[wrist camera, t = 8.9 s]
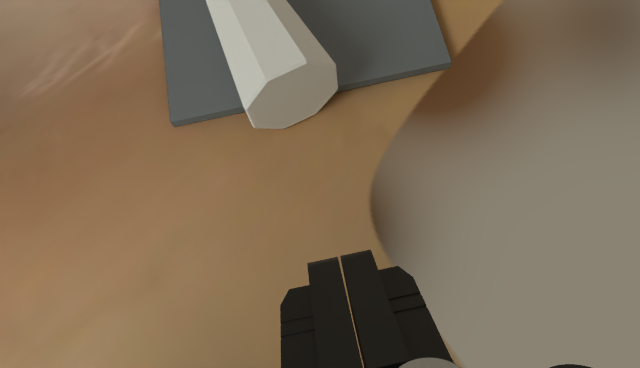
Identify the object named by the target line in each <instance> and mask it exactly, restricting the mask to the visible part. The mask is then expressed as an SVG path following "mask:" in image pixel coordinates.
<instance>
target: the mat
mask: <svg viewBox="0 0 640 368" xmlns="http://www.w3.org/2000/svg"><path fill="white" fill-rule="evenodd" d="M287 2H288V3H289V4H290V6H291V7H292V8H293V10H294V11H295V12H296V13H297V15H298V16H299V17H300V19H301V20H302V21H303V22H304V24H305V25H306V26H307V28H308V29H309V30H310V32H311V33H312V34H313V35H314V37H315V38H316V39H317V41H318V42H319V43H320V45H321V46H322V47H323V48H324V50H325V51H326V52H327V54H328V55H329V56H330V57H331V59H332V60H333V61H334V63H335V64H336V71H337V82H338V90H337V91H336V92H340V91H344V90H349V89H354V88H358V87H363V86H368V85H372V84H377V83H382V82H386V81H391V80H396V79H400V78H405V77H410V76H414V75H419V74H424V73H428V72H433V71H438V70H442V69H447V68H450V65H451V62H452V61H451V59H450V56H449V53H448V50H447V47H446V44H445V41H444V38H443V35H442V32H441V29H440V26H439V24H438V21H437V18H436V15H435V12H434V9H433V6H432V3H431V0H287ZM159 5H160V16H161V26H162V37H163V48H164V59H165V69H166V80H167V91H168V102H169V113H170V122H171V123H172V125H173V126H174V127H177V126H181V125H186V124H191V123H195V122H200V121H205V120H209V119H214V118H219V117H223V116H228V115H233V114H237V113H242V112H246V111H245V109H244V107H243V104H242V102H241V99H240V96H239V93H238V90H237V88H236V85H235V82H234V79H233V76H232V73H231V71H230V68H229V65H228V62H227V59H226V56H225V54H224V51H223V48H222V45H221V42H220V40H219V37H218V34H217V31H216V28H215V25H214V23H213V20H212V17H211V14H210V11H209V9H208V6H207V3H206V0H159Z"/></svg>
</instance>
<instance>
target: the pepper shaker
mask: <svg viewBox="0 0 640 368" xmlns="http://www.w3.org/2000/svg"><path fill="white" fill-rule="evenodd" d="M206 3H207V6H208V9H209V11H210V14H211V17H212V20H213V23H214V25H215V28H216V31H217V34H218V37H219V40H220V42H221V45H222V48H223V51H224V54H225V56H226V59H227V62H228V65H229V68H230V71H231V73H232V76H233V79H234V82H235V85H236V88H237V90H238V93H239V96H240V99H241V102H242V104H243V107H244V109H245V111H246V114H247V116H248V118H249V120H250V122H251V124H252V126H253V127H254V128H267V129H285V128H287V127H289V126H291V125H294V124H296V123H298V122H300V121H302V120H304V119H306V118H308V117H311V116H313V115H315V114H317V112H318V111H319V110H320V109H321V108H322V107H323V106H324V105H325V103H326V102H327V101H328V100H329V99H330V98H331V97H332V96H333V94H334V93H335V92H336V91H337V90H338V82H337V71H336V64H335V63H334V61H333V60H332V59H331V57H330V56H329V55H328V54H327V52H326V51H325V50H324V48H323V47H322V46H321V45H320V43H319V42H318V41H317V39H316V38H315V37H314V35H313V34H312V33H311V32H310V30H309V29H308V28H307V26H306V25H305V24H304V22H303V21H302V20H301V19H300V17H299V16H298V15H297V13H296V12H295V11H294V10H293V8H292V7H291V6H290V4H289V3H288V2H287V0H206Z"/></svg>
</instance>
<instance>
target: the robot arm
mask: <svg viewBox="0 0 640 368" xmlns="http://www.w3.org/2000/svg"><path fill="white" fill-rule="evenodd" d="M340 257H341V262H342V267H343V272H344V277H345V282H346V286H347V291H348V296H349V301H350V306H351V310H352V315H353V320H354V324H355V329H356V333H357V338H358V342H359V347H360V351H361V355H362V360H363V364H364V368H460V367H459V366H457V365H456V364H455V363H454V362H453V360H452V359H451V357H450V355H449V353H448V350H447V348H446V346H445V344H444V342H443V340H442V338H441V336H440V333H439V331H438V329H437V327H436V325H435V323H434V321H433V319H432V316H431V314H430V312H429V310H428V309H427V307H426V304H425V302H424V299H423V297H422V295H421V294H420V291H419V289H418V287H417V285H416V283H415V280H414V278H413V277H412V276H411V275H410V274H408V273H407V272H405V271H404V270H403V269H401V268H400V267H398V266H396V267H391V268H386V269H382V270H378V269H377V266H376V263H375V260H374V257H373V255H372V252H371V250H367V251H362V252H357V253H353V254H348V255H343V256H340ZM308 274H309V283H310V285H308V286H303V287H298V288H294V289H289V291H288V293H287V294H286V296H285V298H284V300H283V302H282V304H281V305H280V311H281V368H363V367H362V363H361V358H360V354H359V349H358V345H357V340H356V336H355V332H354V327H353V323H352V318H351V314H350V309H349V305H348V301H347V296H346V292H345V287H344V283H343V278H342V274H341V270H340V265H339V261H338V257H334V258H330V259H325V260H320V261H316V262H311V263H308ZM550 368H591V367H587V366H582V365H574V364H570V365H569V364H565V365H557V366H553V367H550Z"/></svg>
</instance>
